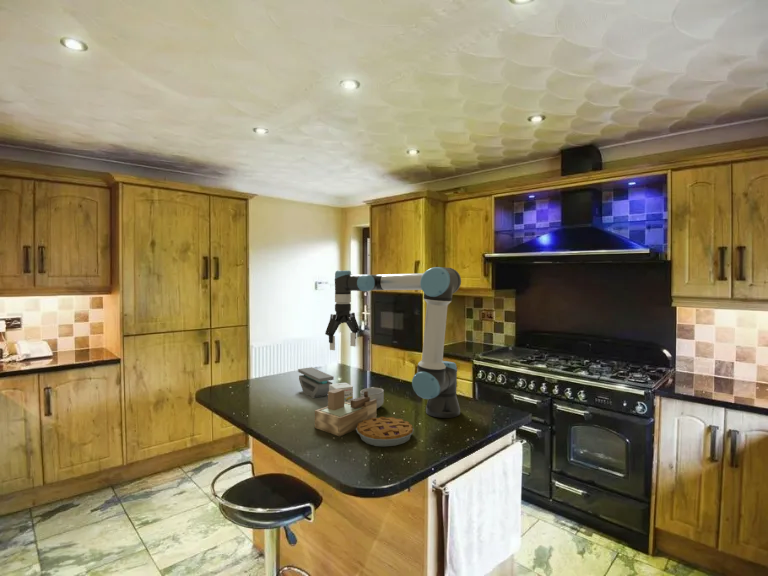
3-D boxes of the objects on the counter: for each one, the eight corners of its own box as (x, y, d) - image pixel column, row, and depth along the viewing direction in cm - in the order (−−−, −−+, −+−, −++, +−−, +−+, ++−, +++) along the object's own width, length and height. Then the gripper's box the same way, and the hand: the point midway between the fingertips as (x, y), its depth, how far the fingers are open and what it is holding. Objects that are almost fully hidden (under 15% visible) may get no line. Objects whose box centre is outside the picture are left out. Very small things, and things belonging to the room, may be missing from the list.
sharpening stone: (333, 398, 209) (333, 376, 209) (319, 401, 204) (319, 378, 204) (311, 387, 229) (311, 367, 229) (298, 389, 225) (298, 369, 225)
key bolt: (369, 403, 177) (369, 391, 177) (355, 408, 170) (355, 396, 170) (365, 402, 178) (365, 390, 178) (350, 407, 171) (350, 395, 171)
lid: (361, 410, 172) (361, 391, 172) (339, 418, 162) (340, 398, 162) (342, 405, 179) (342, 386, 178) (320, 412, 169) (320, 393, 169)
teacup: (380, 411, 189) (381, 394, 189) (357, 410, 191) (357, 392, 191) (386, 402, 203) (387, 386, 202) (364, 401, 205) (365, 384, 205)
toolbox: (378, 420, 178) (378, 399, 178) (339, 436, 160) (339, 413, 160) (353, 413, 187) (353, 393, 186) (314, 427, 169) (314, 406, 168)
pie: (368, 452, 146) (368, 438, 146) (348, 431, 166) (348, 418, 166) (424, 443, 155) (424, 429, 155) (398, 423, 175) (398, 411, 175)
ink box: (335, 414, 185) (335, 388, 184) (328, 409, 192) (328, 383, 192) (353, 412, 188) (353, 386, 188) (345, 406, 196) (346, 381, 196)
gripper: (355, 301, 211) (355, 343, 211) (317, 304, 192) (317, 350, 192) (366, 302, 206) (366, 345, 207) (328, 304, 187) (328, 352, 188)
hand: (342, 348), depth 200 cm, fingers open, 13 cm apart
